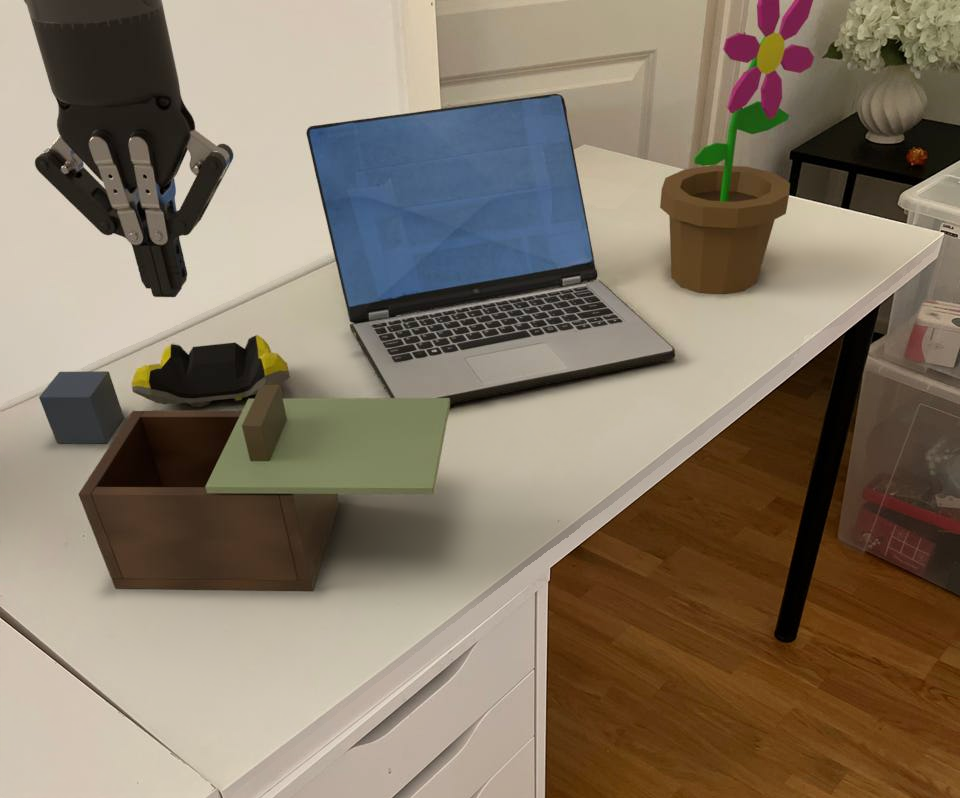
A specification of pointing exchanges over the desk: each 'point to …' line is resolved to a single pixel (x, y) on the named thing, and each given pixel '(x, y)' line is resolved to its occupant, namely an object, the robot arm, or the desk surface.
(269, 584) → the storage box
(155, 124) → the robot arm
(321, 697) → the desk surface
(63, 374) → the block
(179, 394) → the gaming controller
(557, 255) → the laptop
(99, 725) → the desk surface
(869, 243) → the desk surface
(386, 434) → the cover
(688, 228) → the flowerpot
